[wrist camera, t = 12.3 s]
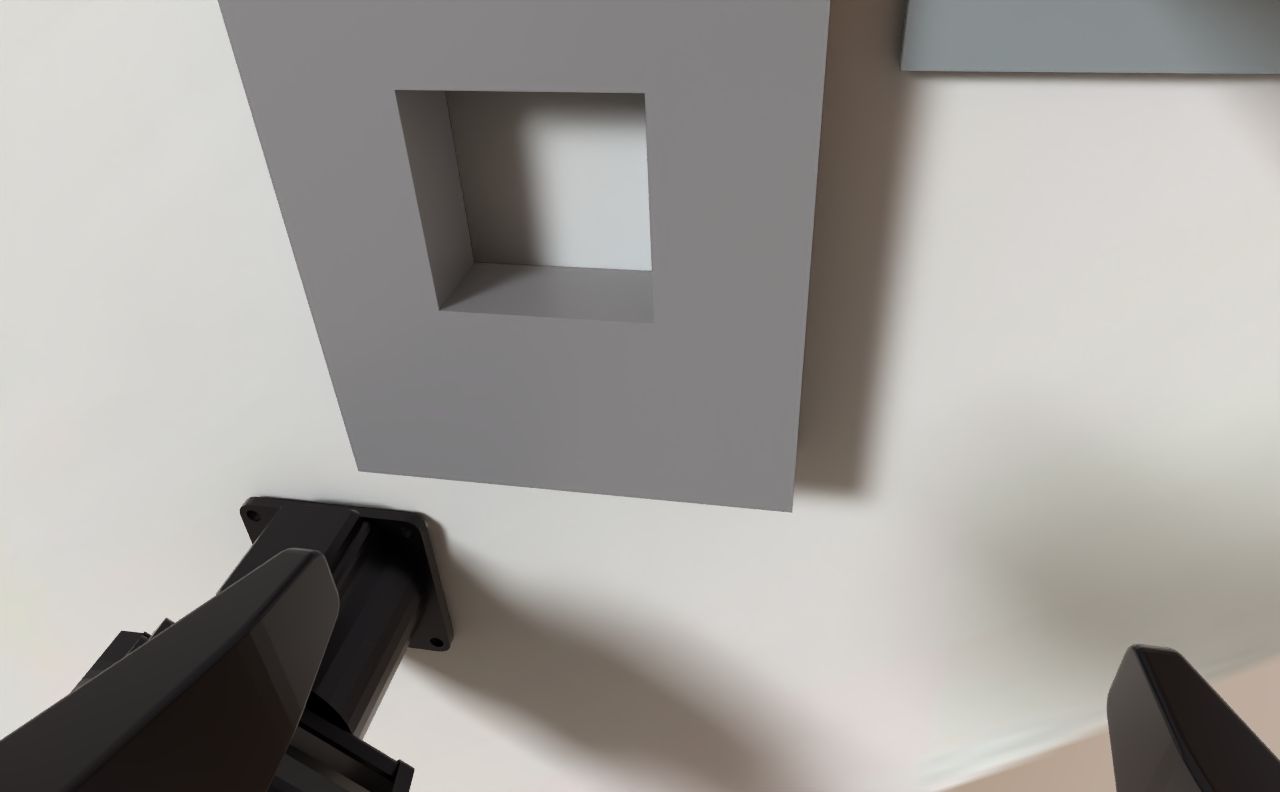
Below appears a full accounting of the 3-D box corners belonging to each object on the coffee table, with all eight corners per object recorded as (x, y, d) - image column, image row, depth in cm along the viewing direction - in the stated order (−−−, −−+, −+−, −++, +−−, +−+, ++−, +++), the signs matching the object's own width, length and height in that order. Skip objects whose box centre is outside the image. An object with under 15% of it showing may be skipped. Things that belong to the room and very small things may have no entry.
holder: (796, 451, 25) (792, 512, 23) (394, 417, 27) (358, 471, 25) (850, -263, 16) (850, -263, 14) (229, -228, 18) (150, -225, 16)
